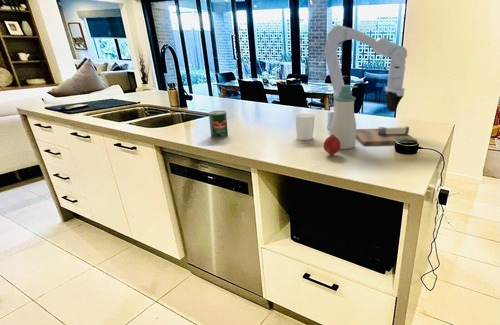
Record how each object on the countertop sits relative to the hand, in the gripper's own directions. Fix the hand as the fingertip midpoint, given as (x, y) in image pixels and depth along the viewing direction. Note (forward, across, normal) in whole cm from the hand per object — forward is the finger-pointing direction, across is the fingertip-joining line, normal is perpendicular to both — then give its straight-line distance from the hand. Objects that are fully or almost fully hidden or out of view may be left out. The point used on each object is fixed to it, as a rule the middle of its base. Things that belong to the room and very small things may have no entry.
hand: (391, 110), depth 127 cm
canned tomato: (+10, +2, +75) cm, 76 cm away
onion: (+10, -27, +30) cm, 41 cm away
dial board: (+9, -8, +6) cm, 14 cm away
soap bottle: (+10, -17, +24) cm, 31 cm away
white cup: (+10, -5, +37) cm, 39 cm away
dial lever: (+8, -8, +2) cm, 11 cm away
